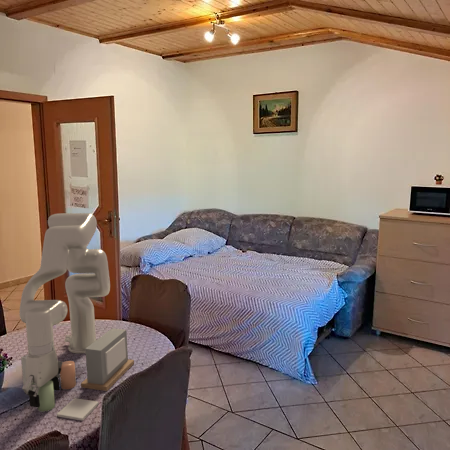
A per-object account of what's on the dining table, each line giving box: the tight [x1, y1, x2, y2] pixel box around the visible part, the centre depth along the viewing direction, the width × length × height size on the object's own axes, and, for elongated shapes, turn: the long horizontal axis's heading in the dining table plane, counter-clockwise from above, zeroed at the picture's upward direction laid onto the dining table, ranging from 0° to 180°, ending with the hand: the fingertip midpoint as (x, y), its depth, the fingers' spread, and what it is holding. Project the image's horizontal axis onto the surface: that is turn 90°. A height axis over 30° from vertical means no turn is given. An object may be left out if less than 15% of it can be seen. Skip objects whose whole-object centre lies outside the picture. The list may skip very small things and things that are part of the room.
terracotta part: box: [59, 360, 77, 390], centre depth 148 cm, size 5×5×8 cm
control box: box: [80, 327, 135, 392], centre depth 154 cm, size 10×20×14 cm, turn 165°
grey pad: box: [56, 397, 100, 422], centre depth 134 cm, size 9×9×1 cm
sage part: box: [36, 380, 56, 413], centre depth 135 cm, size 5×5×8 cm
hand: (45, 398), depth 135 cm, fingers open, 9 cm apart
